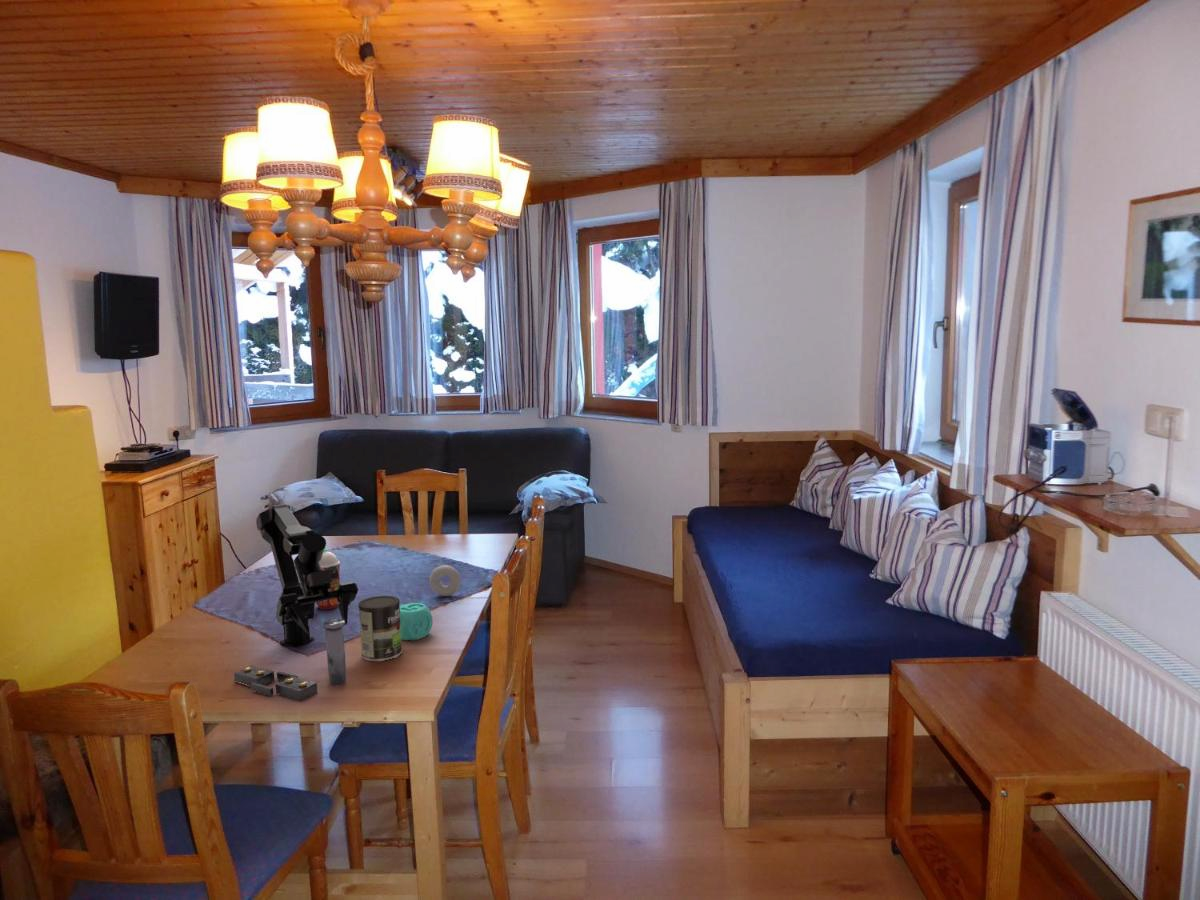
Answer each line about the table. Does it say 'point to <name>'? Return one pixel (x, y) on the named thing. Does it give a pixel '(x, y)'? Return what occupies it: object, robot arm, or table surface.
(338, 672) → the link pin
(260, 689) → the riveted post bracket
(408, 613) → the teal rolled towel
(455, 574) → the donut
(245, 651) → the table surface
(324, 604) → the smoothie
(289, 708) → the table surface
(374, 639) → the coffee can
